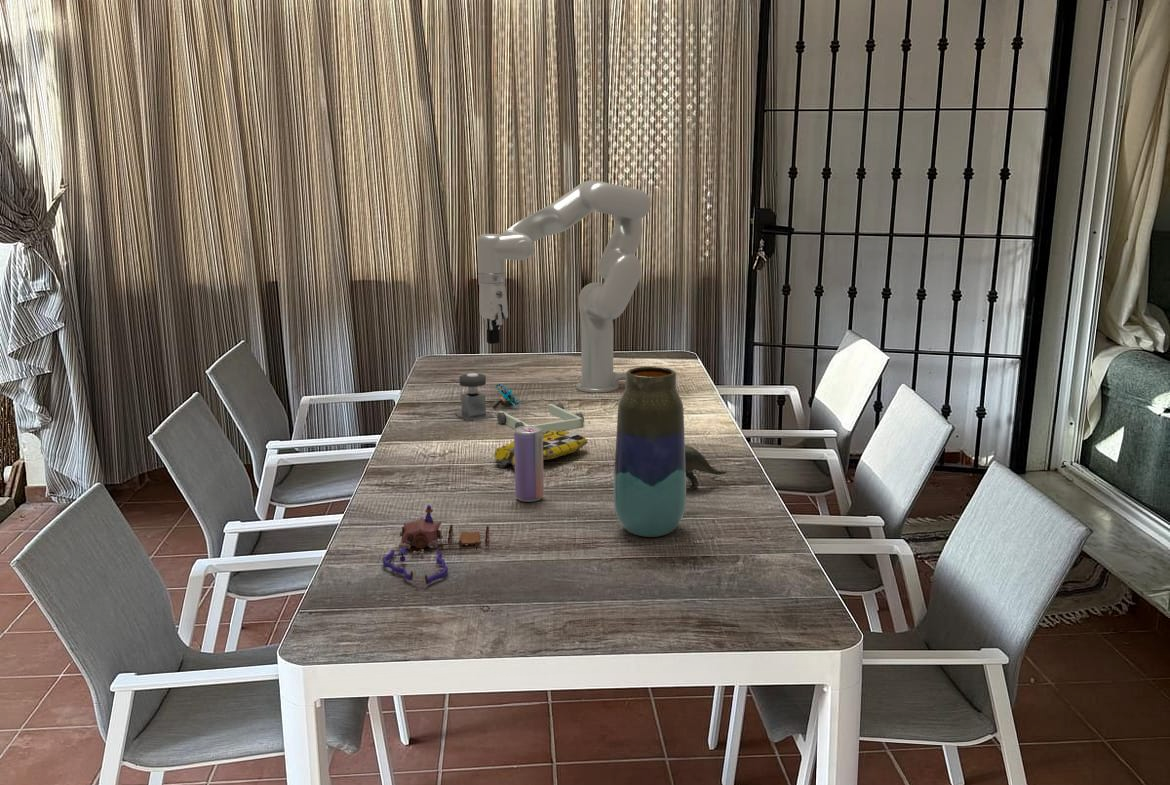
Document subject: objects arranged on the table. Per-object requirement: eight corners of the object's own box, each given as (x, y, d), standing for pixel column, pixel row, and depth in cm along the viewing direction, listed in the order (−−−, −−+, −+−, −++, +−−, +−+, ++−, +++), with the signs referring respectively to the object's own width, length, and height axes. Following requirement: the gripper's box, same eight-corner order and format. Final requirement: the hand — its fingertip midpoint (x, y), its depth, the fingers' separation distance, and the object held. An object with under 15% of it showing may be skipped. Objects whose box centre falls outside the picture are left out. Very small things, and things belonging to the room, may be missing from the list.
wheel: (479, 388, 286) (479, 370, 285) (490, 393, 280) (489, 375, 279) (456, 391, 282) (455, 373, 281) (466, 397, 276) (465, 378, 275)
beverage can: (522, 504, 214) (520, 434, 211) (510, 495, 219) (509, 427, 216) (548, 499, 217) (547, 430, 213) (536, 491, 222) (535, 423, 219)
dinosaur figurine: (727, 487, 224) (729, 437, 221) (719, 500, 216) (721, 448, 213) (630, 477, 231) (630, 429, 228) (619, 489, 223) (619, 439, 220)
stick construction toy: (520, 399, 285) (500, 379, 286) (502, 416, 285) (482, 396, 285) (522, 403, 297) (503, 383, 298) (505, 420, 297) (486, 401, 297)
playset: (488, 583, 177) (487, 545, 176) (376, 588, 176) (374, 550, 174) (489, 530, 201) (488, 496, 200) (390, 533, 200) (388, 499, 198)
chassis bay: (555, 411, 286) (555, 401, 286) (587, 427, 271) (587, 416, 270) (494, 420, 278) (493, 410, 277) (523, 437, 262) (523, 425, 262)
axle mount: (481, 410, 288) (480, 389, 287) (493, 417, 281) (492, 395, 280) (454, 414, 284) (453, 393, 283) (465, 421, 277) (465, 399, 276)
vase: (664, 548, 191) (666, 383, 183) (600, 534, 198) (599, 374, 191) (697, 525, 202) (701, 368, 195) (635, 512, 209) (636, 360, 202)
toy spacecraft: (479, 462, 243) (478, 441, 242) (548, 441, 260) (547, 422, 258) (528, 477, 232) (528, 456, 231) (597, 454, 249) (597, 434, 247)
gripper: (515, 280, 286) (516, 346, 290) (493, 274, 299) (494, 337, 303) (490, 282, 282) (491, 348, 287) (468, 276, 295) (470, 339, 299)
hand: (493, 342), depth 295 cm, fingers closed
